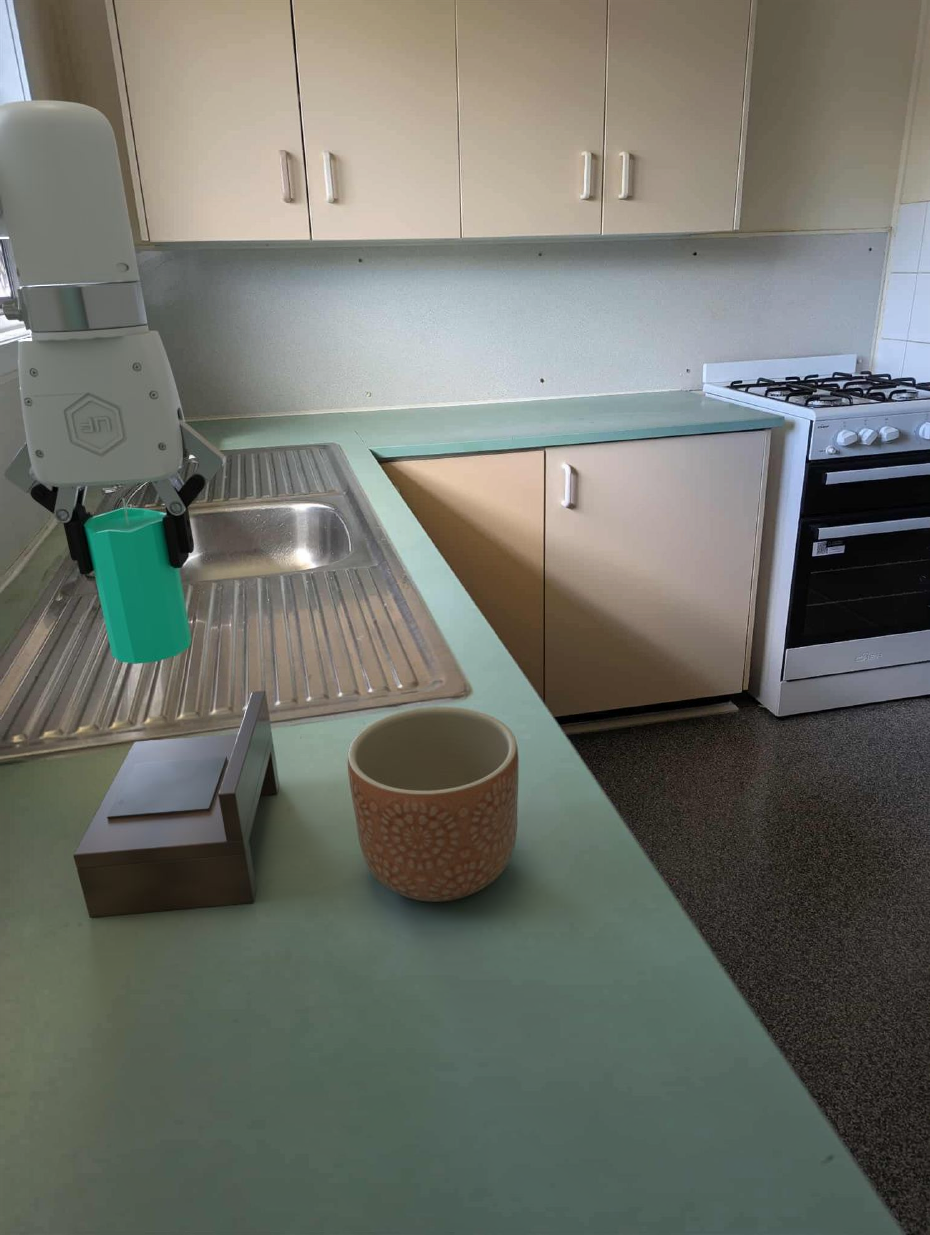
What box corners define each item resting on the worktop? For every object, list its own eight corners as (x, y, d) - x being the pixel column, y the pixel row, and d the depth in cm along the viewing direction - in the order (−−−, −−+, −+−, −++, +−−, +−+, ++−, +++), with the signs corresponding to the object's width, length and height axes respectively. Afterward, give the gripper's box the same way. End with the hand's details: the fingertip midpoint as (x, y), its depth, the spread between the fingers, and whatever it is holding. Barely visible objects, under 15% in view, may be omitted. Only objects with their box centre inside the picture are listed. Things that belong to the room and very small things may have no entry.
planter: (461, 803, 75) (455, 690, 71) (554, 878, 66) (553, 752, 62) (332, 860, 69) (317, 739, 65) (414, 951, 59) (402, 817, 55)
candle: (109, 641, 70) (78, 495, 66) (186, 627, 72) (161, 484, 68) (114, 670, 65) (80, 513, 60) (196, 653, 67) (170, 501, 63)
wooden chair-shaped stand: (89, 917, 64) (60, 807, 60) (145, 795, 79) (125, 701, 75) (254, 903, 65) (235, 793, 61) (279, 784, 80) (265, 690, 76)
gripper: (-72, 323, 55) (-2, 590, 62) (205, 310, 56) (244, 574, 63) (-21, 317, 62) (37, 558, 69) (225, 305, 63) (258, 543, 70)
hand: (135, 563), depth 66 cm, fingers closed on candle, 5 cm apart
